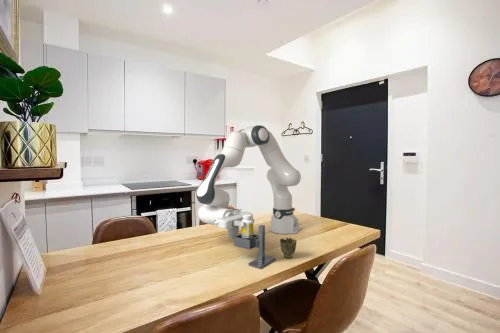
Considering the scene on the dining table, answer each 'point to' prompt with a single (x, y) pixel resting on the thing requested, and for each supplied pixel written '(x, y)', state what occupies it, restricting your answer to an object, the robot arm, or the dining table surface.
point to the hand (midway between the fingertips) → (249, 222)
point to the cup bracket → (256, 242)
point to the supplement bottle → (247, 226)
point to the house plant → (233, 231)
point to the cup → (288, 247)
